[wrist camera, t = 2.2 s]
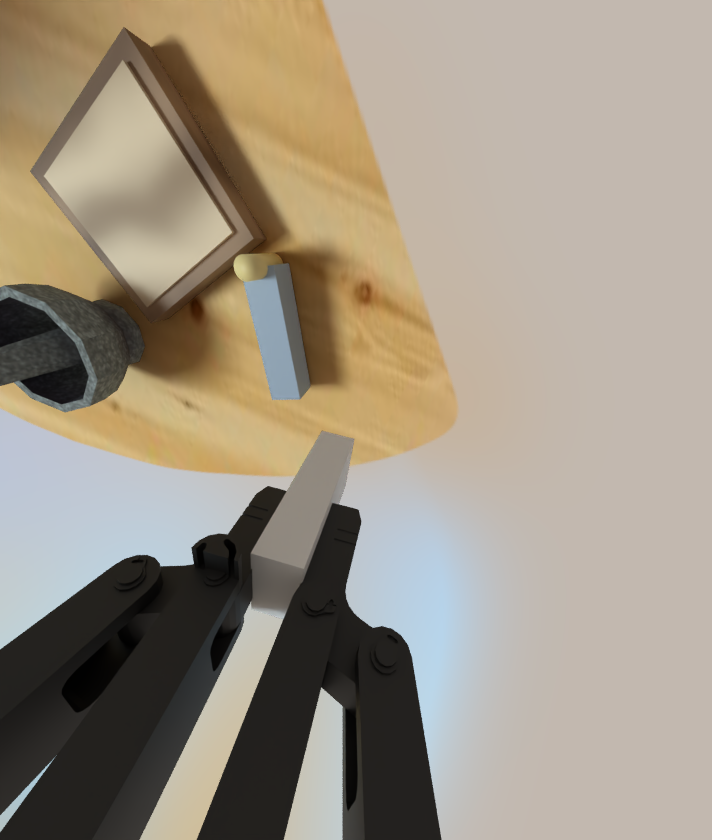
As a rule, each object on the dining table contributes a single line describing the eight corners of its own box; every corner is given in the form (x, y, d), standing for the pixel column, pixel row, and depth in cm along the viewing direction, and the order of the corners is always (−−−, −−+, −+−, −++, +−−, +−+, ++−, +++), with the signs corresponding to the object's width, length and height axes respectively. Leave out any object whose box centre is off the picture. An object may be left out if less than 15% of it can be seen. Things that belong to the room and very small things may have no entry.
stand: (58, 176, 24) (25, 170, 22) (150, 46, 19) (119, 23, 17) (167, 318, 28) (148, 324, 26) (266, 239, 23) (251, 238, 21)
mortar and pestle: (122, 265, 26) (-71, 277, 16) (179, 369, 30) (53, 431, 20) (37, 301, 30) (-169, 330, 19) (98, 390, 34) (-46, 454, 23)
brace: (256, 254, 24) (224, 256, 20) (286, 251, 23) (259, 251, 19) (284, 386, 29) (263, 407, 25) (310, 386, 28) (293, 407, 24)
